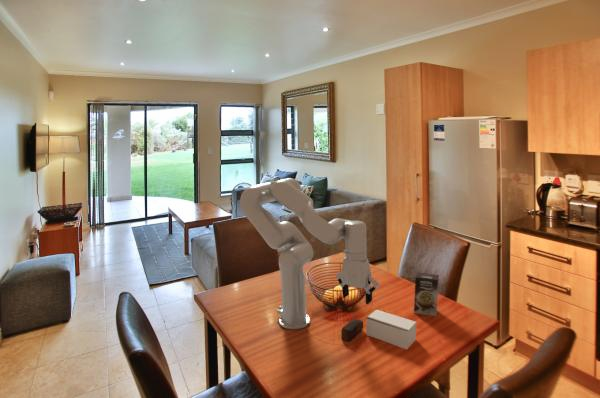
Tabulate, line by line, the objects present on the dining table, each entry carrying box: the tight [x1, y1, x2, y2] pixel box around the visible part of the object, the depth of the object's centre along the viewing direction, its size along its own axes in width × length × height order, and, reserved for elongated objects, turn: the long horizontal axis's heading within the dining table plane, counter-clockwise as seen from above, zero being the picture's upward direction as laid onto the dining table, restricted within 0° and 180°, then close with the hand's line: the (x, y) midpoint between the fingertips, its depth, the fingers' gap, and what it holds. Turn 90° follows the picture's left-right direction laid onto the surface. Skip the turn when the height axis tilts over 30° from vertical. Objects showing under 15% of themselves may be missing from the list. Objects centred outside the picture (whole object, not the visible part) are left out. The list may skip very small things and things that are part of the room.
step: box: [365, 309, 417, 350], centre depth 134 cm, size 16×8×7 cm, turn 51°
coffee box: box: [413, 272, 439, 317], centre depth 152 cm, size 9×6×16 cm
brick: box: [340, 318, 364, 343], centre depth 137 cm, size 11×4×5 cm, turn 144°
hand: (356, 299), depth 134 cm, fingers open, 9 cm apart
